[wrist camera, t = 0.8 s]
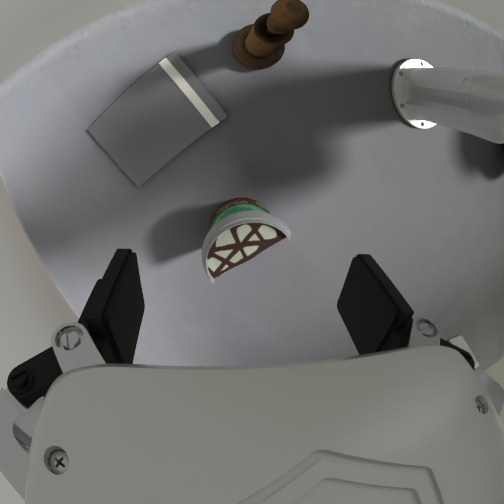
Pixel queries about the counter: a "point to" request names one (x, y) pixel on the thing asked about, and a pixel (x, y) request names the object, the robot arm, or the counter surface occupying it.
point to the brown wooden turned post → (269, 34)
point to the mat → (156, 119)
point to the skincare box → (462, 346)
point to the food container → (239, 235)
